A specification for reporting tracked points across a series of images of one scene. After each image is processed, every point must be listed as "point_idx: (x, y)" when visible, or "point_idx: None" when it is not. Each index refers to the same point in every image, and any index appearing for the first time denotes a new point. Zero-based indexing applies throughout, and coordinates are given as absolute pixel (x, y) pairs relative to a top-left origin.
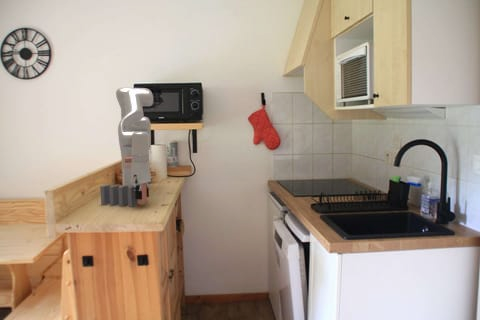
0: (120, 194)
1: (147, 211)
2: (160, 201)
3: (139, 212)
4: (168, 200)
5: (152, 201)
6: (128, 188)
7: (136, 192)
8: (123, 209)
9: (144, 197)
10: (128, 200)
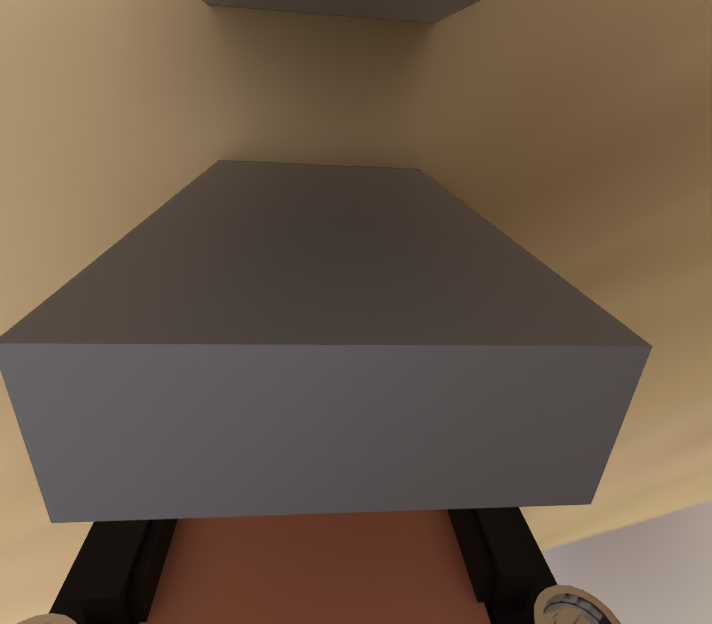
0: None
1: None
2: (648, 426)
3: (4, 489)
4: (698, 480)
5: (659, 330)
6: (28, 372)
7: (63, 605)
8: (18, 178)
9: None
10: (192, 191)
